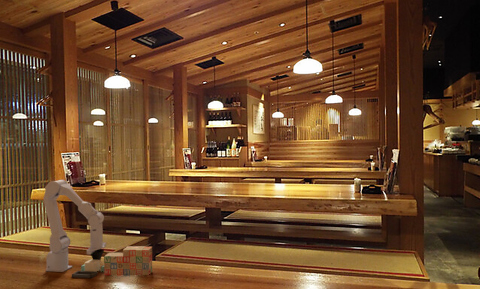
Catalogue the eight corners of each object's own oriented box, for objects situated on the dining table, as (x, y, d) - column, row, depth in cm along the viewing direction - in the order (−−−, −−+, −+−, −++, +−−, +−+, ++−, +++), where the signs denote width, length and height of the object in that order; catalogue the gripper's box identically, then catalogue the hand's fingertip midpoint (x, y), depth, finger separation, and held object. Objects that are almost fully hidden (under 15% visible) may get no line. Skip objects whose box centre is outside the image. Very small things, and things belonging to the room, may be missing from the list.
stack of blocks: (103, 276, 178) (103, 249, 178) (109, 271, 184) (108, 246, 184) (148, 276, 177) (148, 249, 177) (152, 271, 183) (152, 246, 183)
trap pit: (71, 277, 176) (71, 274, 176) (78, 273, 181) (78, 270, 181) (91, 278, 175) (91, 275, 175) (97, 274, 179) (97, 271, 179)
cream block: (84, 272, 183) (84, 262, 182) (91, 269, 187) (90, 259, 187) (94, 273, 181) (93, 263, 181) (100, 270, 186) (99, 259, 186)
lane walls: (81, 270, 185) (81, 265, 185) (92, 264, 195) (92, 259, 195) (103, 272, 183) (103, 266, 183) (114, 265, 193) (114, 260, 193)
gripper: (95, 241, 180) (96, 270, 180) (111, 234, 195) (112, 260, 195) (82, 241, 182) (82, 269, 182) (98, 233, 196) (99, 260, 196)
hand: (97, 264), depth 188 cm, fingers closed
